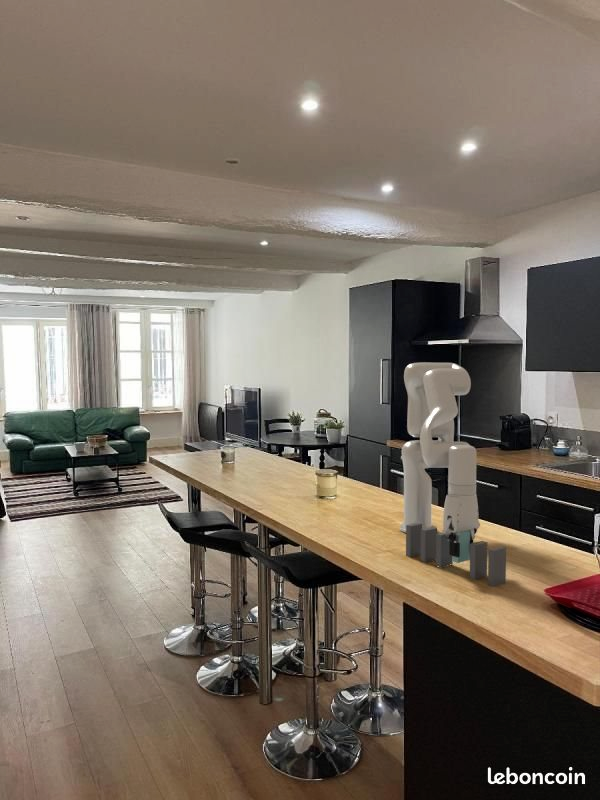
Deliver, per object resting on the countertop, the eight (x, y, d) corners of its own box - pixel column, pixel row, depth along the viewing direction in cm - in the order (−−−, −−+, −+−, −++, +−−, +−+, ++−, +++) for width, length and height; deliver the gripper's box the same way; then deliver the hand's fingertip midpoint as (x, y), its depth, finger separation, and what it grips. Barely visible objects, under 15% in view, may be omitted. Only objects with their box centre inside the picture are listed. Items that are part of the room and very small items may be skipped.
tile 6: (487, 584, 160) (488, 549, 159) (499, 580, 162) (500, 545, 162) (493, 586, 158) (494, 550, 158) (505, 582, 161) (506, 547, 161)
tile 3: (435, 566, 174) (436, 533, 174) (447, 563, 177) (448, 531, 177) (440, 568, 173) (441, 535, 172) (452, 564, 176) (452, 532, 175)
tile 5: (469, 578, 164) (470, 543, 164) (481, 574, 167) (482, 540, 167) (474, 580, 163) (475, 545, 163) (486, 576, 166) (487, 542, 165)
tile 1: (405, 555, 184) (406, 525, 184) (417, 553, 187) (417, 522, 186) (410, 557, 183) (410, 526, 182) (421, 554, 185) (422, 523, 185)
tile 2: (420, 561, 179) (420, 529, 179) (432, 558, 182) (432, 526, 182) (425, 562, 178) (425, 530, 177) (436, 559, 181) (437, 528, 180)
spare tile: (452, 561, 169) (453, 527, 169) (464, 558, 172) (465, 525, 171) (457, 563, 167) (458, 529, 167) (469, 559, 170) (470, 526, 170)
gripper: (471, 484, 177) (470, 546, 178) (430, 491, 167) (430, 556, 168) (492, 488, 171) (491, 552, 171) (451, 495, 161) (451, 563, 162)
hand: (461, 553), depth 170 cm, fingers closed on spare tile, 4 cm apart
